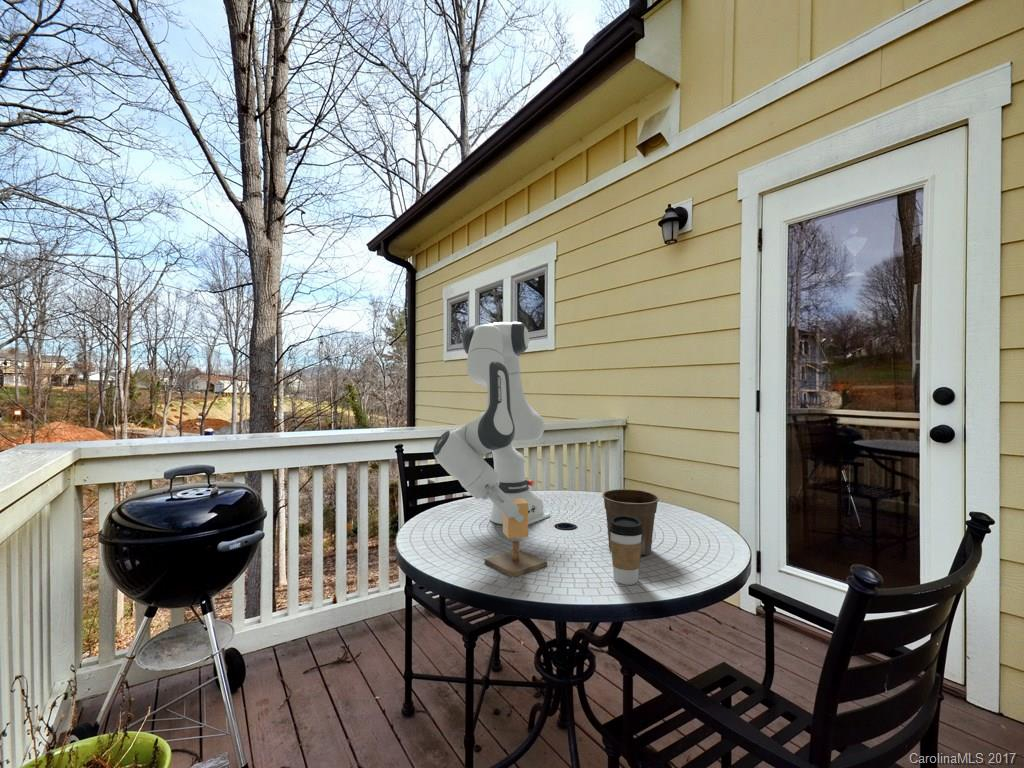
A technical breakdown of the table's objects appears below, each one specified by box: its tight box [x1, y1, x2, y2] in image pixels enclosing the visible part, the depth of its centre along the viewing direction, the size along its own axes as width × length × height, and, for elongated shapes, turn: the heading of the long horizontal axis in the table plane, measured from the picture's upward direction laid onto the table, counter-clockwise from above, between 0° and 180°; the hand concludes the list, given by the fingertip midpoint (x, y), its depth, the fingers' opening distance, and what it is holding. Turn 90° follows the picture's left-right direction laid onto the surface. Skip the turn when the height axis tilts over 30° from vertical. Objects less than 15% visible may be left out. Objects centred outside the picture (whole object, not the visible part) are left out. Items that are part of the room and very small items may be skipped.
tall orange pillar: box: [502, 498, 529, 539], centre depth 129 cm, size 6×6×9 cm
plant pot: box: [602, 488, 660, 557], centre depth 141 cm, size 16×16×16 cm
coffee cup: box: [609, 516, 643, 586], centre depth 120 cm, size 8×8×15 cm
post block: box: [484, 540, 548, 578], centre depth 130 cm, size 12×12×6 cm
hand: (517, 516), depth 129 cm, fingers closed on tall orange pillar, 5 cm apart
